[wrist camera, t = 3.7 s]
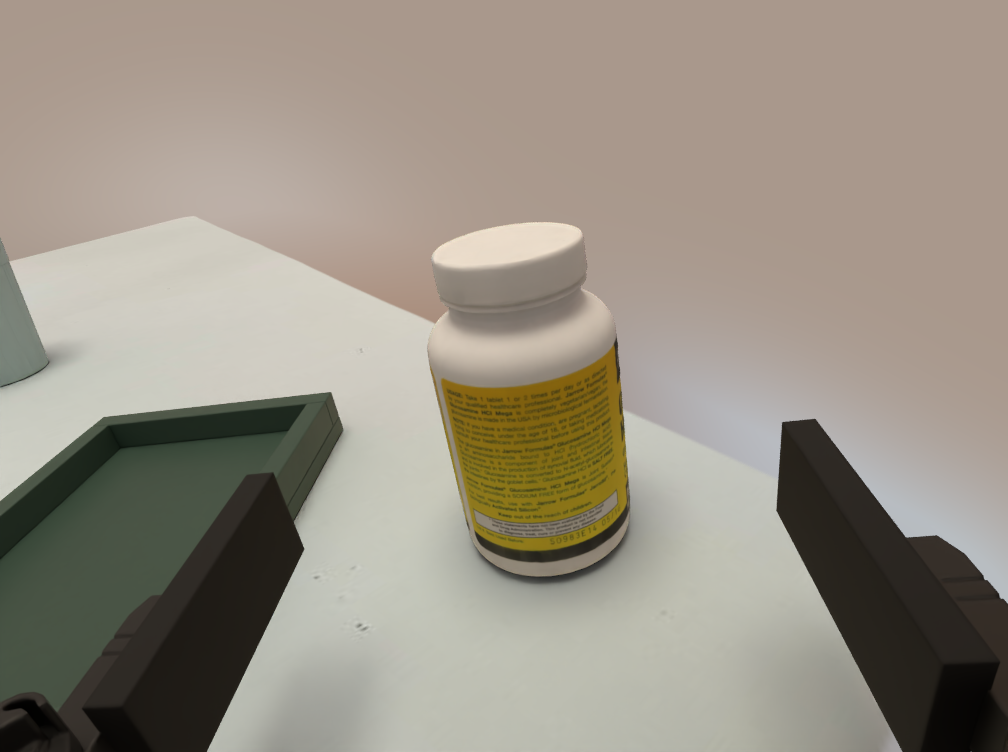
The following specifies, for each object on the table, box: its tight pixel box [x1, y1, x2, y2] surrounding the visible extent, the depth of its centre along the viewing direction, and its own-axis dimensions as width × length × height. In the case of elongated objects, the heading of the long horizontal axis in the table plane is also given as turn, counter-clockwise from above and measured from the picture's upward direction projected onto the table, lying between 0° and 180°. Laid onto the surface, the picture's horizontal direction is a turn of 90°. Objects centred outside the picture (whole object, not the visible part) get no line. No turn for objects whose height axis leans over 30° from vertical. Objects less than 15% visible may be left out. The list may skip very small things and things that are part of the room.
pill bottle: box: [428, 222, 630, 576], centre depth 21 cm, size 6×6×11 cm
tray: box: [0, 392, 343, 712], centre depth 25 cm, size 18×13×2 cm
